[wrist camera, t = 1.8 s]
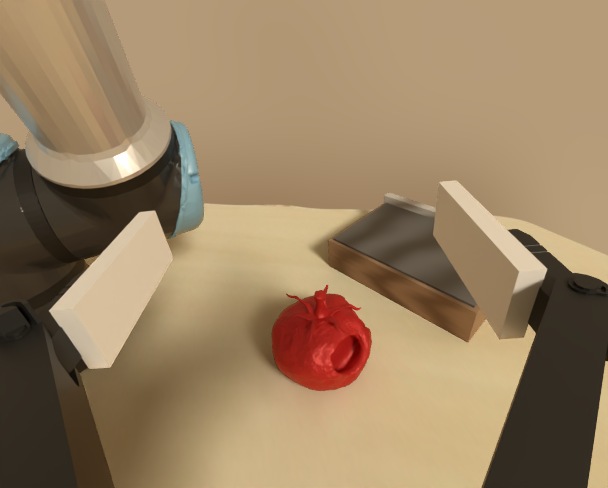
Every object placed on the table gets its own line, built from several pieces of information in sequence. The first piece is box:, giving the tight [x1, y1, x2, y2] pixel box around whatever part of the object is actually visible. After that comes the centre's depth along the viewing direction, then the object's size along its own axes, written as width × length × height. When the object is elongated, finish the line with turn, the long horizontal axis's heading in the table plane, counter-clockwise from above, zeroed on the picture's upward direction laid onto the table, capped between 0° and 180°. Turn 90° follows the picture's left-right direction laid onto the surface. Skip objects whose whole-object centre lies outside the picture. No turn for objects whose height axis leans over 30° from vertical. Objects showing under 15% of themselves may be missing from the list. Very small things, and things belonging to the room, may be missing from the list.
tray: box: [328, 193, 486, 342], centre depth 44 cm, size 20×14×6 cm
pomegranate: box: [272, 285, 372, 391], centre depth 33 cm, size 10×10×9 cm
